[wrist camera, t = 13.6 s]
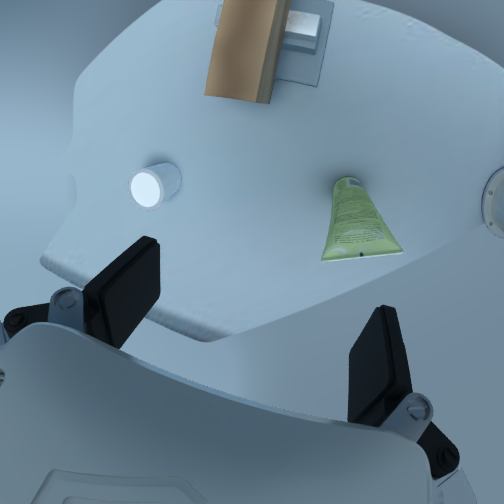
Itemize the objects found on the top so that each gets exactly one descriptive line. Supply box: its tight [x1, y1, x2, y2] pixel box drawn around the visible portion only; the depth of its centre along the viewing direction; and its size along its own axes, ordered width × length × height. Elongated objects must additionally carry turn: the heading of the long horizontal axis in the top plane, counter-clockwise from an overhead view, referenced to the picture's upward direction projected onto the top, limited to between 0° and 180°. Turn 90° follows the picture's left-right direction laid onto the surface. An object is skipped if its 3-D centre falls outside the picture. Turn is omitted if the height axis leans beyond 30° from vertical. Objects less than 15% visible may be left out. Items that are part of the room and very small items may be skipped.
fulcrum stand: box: [214, 0, 334, 87], centre depth 27 cm, size 14×14×8 cm
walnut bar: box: [204, 0, 291, 104], centre depth 20 cm, size 5×22×7 cm, turn 170°
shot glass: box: [128, 162, 181, 211], centre depth 42 cm, size 7×7×7 cm
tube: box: [322, 177, 403, 262], centre depth 31 cm, size 6×5×20 cm
